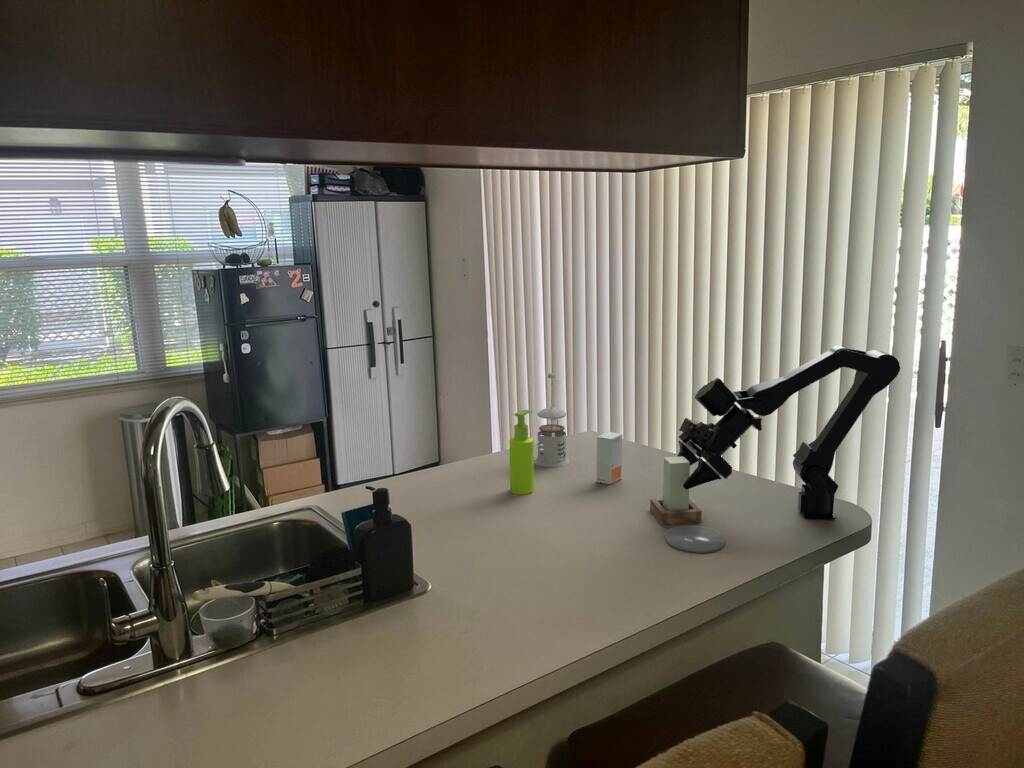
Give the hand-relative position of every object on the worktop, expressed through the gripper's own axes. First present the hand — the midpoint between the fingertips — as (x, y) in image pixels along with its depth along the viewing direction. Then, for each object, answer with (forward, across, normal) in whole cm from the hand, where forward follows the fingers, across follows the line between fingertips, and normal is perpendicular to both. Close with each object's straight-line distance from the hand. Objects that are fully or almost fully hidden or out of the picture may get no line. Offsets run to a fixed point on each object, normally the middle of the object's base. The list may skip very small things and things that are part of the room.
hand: (677, 480), depth 160 cm
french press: (+21, -44, -8) cm, 49 cm away
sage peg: (+6, 0, +6) cm, 8 cm away
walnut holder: (+6, 0, +6) cm, 8 cm away
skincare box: (+12, -25, 0) cm, 28 cm away
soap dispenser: (+28, -22, -16) cm, 39 cm away
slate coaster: (+6, +13, +5) cm, 16 cm away
